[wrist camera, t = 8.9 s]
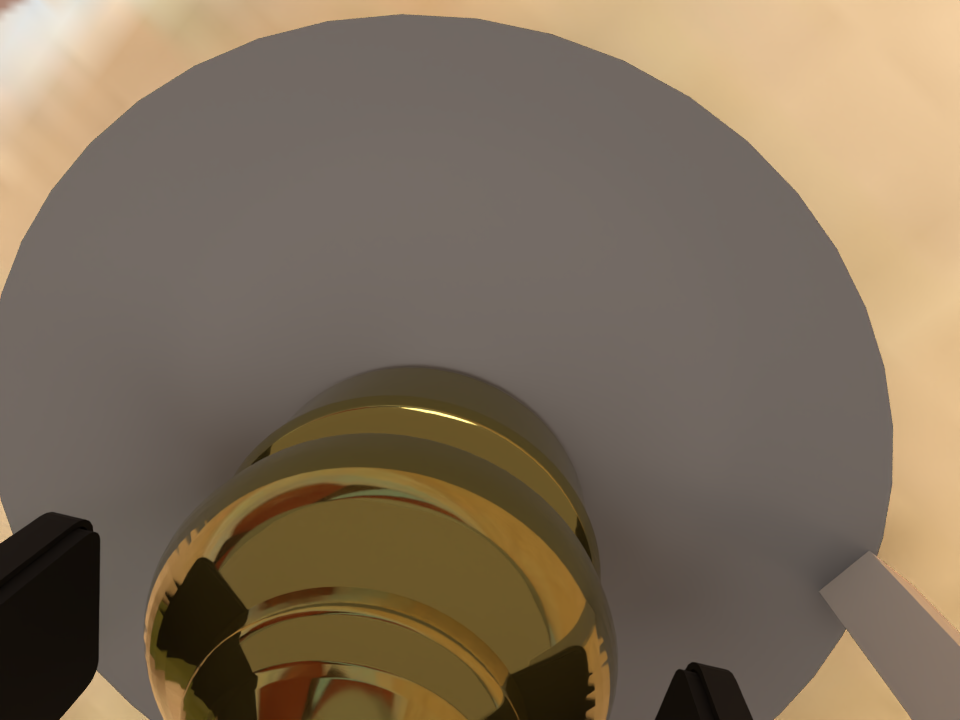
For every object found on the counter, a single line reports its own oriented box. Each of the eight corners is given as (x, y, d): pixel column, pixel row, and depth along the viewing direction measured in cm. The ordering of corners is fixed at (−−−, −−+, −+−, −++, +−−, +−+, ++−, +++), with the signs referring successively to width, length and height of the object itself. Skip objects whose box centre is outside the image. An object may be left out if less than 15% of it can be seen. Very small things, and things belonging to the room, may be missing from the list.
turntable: (496, 898, 18) (482, 1315, 11) (-98, 540, 15) (-568, 812, 9) (1075, 449, 12) (1719, 758, 6) (292, -245, 9) (-207, -1174, 3)
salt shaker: (649, 445, 12) (1180, 1526, 2) (503, 691, 14) (468, 1754, 5) (320, 302, 11) (-696, 914, 2) (223, 579, 14) (-462, 1498, 4)
